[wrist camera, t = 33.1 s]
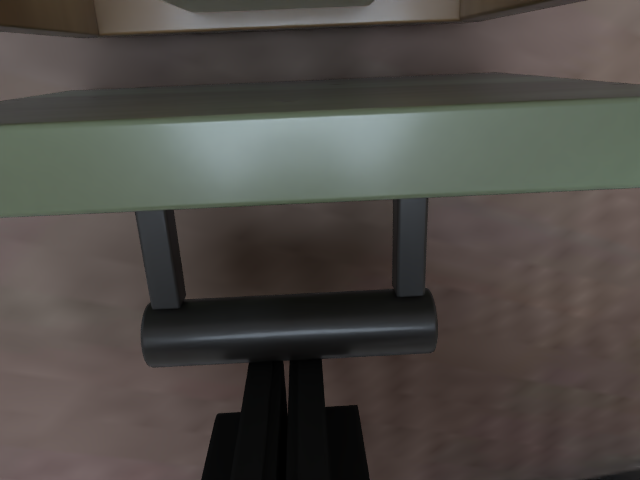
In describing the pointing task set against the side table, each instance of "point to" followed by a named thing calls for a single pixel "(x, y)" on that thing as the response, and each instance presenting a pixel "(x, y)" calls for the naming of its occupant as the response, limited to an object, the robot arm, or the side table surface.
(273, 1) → the block
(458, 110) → the drawer
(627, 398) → the side table surface
